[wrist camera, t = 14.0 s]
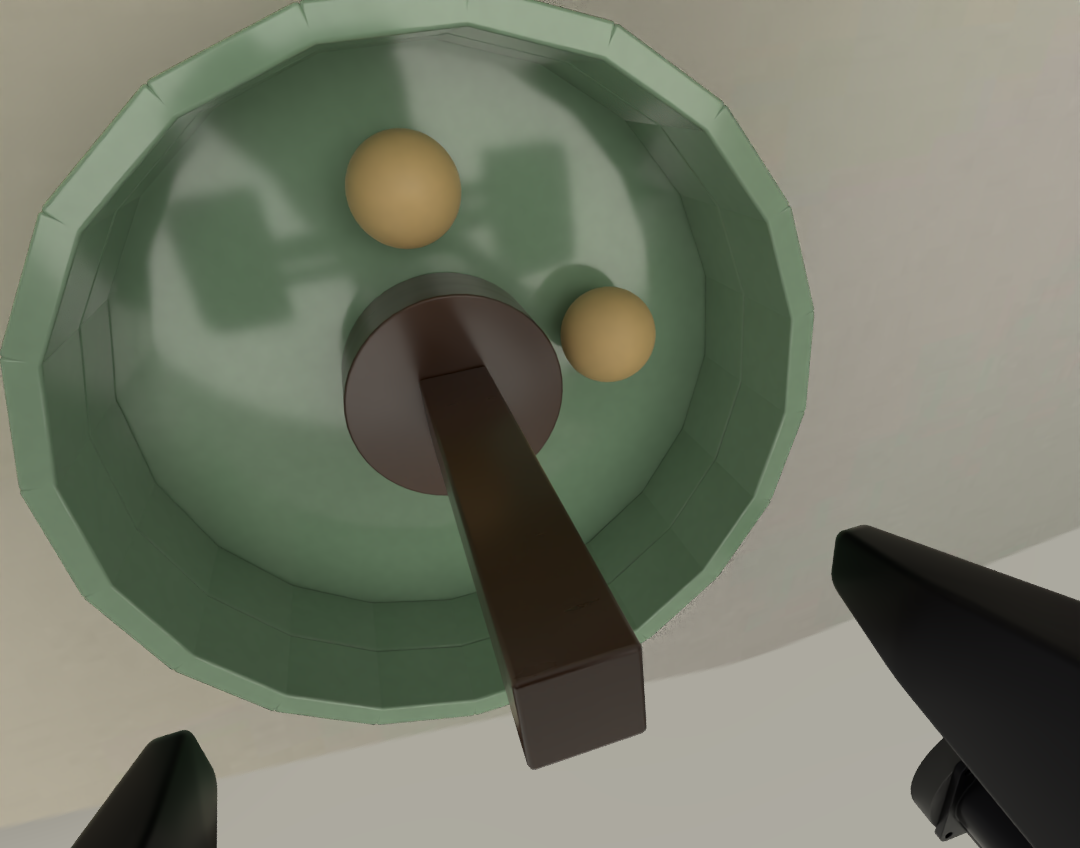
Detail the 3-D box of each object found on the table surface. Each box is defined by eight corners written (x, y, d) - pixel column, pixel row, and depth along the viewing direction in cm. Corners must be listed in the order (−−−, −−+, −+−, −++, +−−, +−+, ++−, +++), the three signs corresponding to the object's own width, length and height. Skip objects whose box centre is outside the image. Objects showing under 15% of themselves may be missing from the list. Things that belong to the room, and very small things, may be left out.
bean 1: (463, 159, 13) (442, 97, 14) (335, 182, 12) (326, 115, 14) (476, 260, 14) (457, 196, 16) (366, 281, 14) (356, 214, 16)
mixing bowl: (711, 527, 23) (788, 616, 19) (228, 666, 20) (205, 803, 16) (719, -27, 15) (849, -62, 12) (-68, 64, 12) (-244, 59, 9)
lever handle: (550, 433, 19) (767, 774, 10) (369, 477, 18) (415, 903, 9) (528, 254, 17) (791, 480, 7) (316, 294, 16) (303, 617, 6)
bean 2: (622, 380, 19) (661, 395, 16) (541, 368, 18) (570, 381, 16) (639, 294, 18) (682, 296, 16) (557, 278, 17) (589, 278, 15)
